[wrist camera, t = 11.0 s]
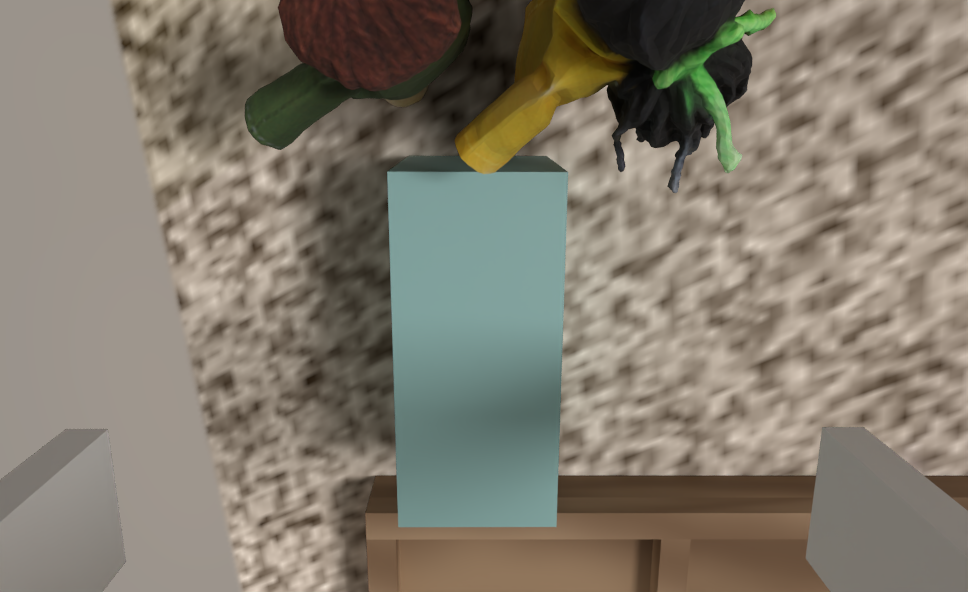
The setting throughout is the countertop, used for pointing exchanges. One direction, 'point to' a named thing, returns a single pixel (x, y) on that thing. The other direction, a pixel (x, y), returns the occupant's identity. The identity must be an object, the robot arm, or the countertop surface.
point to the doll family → (522, 69)
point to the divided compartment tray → (617, 539)
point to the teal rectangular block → (477, 339)
